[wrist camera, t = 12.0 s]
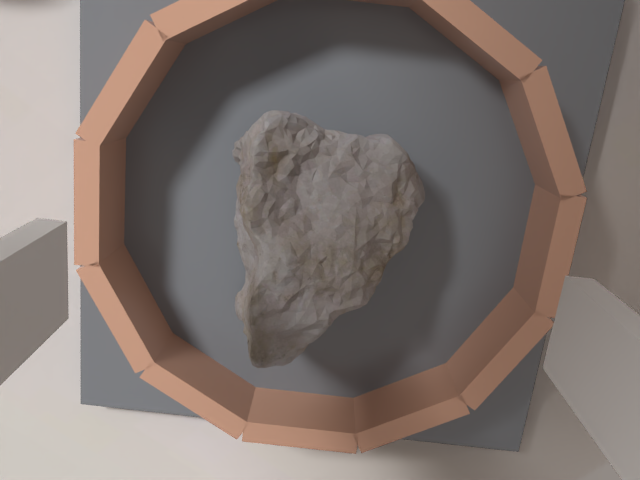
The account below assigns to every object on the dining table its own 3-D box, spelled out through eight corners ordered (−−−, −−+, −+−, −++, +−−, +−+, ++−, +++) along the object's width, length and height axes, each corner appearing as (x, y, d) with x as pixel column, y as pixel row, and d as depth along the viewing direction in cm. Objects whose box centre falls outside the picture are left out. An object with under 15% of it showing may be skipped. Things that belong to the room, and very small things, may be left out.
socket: (92, -78, 24) (44, -109, 20) (615, -17, 24) (672, -36, 20) (90, 391, 30) (53, 440, 26) (511, 437, 30) (538, 492, 26)
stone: (369, 344, 28) (378, 411, 22) (204, 302, 27) (170, 360, 22) (432, 142, 25) (459, 161, 20) (250, 93, 25) (225, 98, 19)
